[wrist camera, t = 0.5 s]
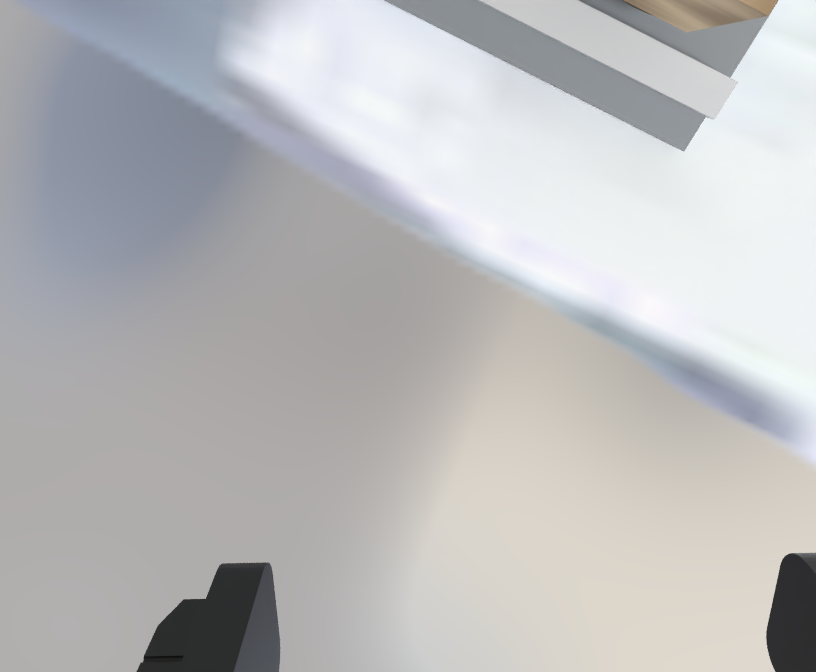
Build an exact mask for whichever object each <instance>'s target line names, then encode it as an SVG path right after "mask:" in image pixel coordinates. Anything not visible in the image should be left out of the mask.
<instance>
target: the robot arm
mask: <svg viewBox="0 0 816 672" xmlns="http://www.w3.org/2000/svg"><path fill="white" fill-rule="evenodd" d="M766 638H767V648H768V652H769V656H770V659H771V662H772V665H773V667H774V669H775V671H776V672H816V553H791V554H788V555H786V556H785V557H784V558H783V560H782V562H781V566H780V570H779V575H778V579H777V584H776V589H775V594H774V598H773V603H772V608H771V613H770V617H769V622H768V626H767V636H766ZM279 664H280V637H279V627H278V618H277V609H276V600H275V591H274V582H273V573H272V568H271V565H270V563H227V564H221V565H220V566H219V568H218V570H217V572H216V575H215V577H214V579H213V582H212V585H211V587H210V590H209V592H208V595H207V597H206V599H189V600H188V599H187V600H186V599H185V600H183V601H182V602H181V603H180V604H179V605H178V606H177V607H176V608H175V609H174V610H173V611H172V612H171V613H170V614H169V615H168V616H167V617H166V618H165V619H164V620H163V621H162V622H161V623H160V624H159V625H158V627H157V629H156V631H155V633H154V635H153V638H152V640H151V642H150V644H149V646H148V649H147V650H146V653H145V655H144V661H143V663H141V664H140V666H139V668H138V670H137V672H279Z"/></svg>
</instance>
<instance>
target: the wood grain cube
mask: <svg viewBox="0 0 816 672" xmlns="http://www.w3.org/2000/svg"><path fill="white" fill-rule="evenodd" d="M622 1H624V2H625V3H627V4H629V5H630V6H632V7H634V8H636V9H638V10H640V11H642V12H645V13H647V14H650V15H652V16H655V17H657V18H659V19H661V20H663V21H665V22H667V23H669V24H671V25H673V26H675V27H677V28H679V29H681V30H683V31H685V32H691V31H696V30H701V29H706V28H711V27H716V26H721V25H726V24H731V23H736V22H741V21H746V20H751V19H756V18H761V17H766V16H769V15H770V13H771V11H772V10H773V8H774V7H775V5H776V3H777V2H778V0H622Z"/></svg>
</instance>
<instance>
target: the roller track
mask: <svg viewBox="0 0 816 672" xmlns="http://www.w3.org/2000/svg"><path fill="white" fill-rule="evenodd" d="M385 1H387V2H389V3H391V4H393V5H395V6H397V7H399V8H401V9H403V10H405V11H407V12H409V13H411V14H413V15H415V16H417V17H419V18H421V19H423V20H425V21H427V22H429V23H431V24H433V25H435V26H437V27H439V28H441V29H442V30H444V31H446V32H448V33H450V34H452V35H454V36H456V37H458V38H460V39H462V40H464V41H466V42H468V43H470V44H472V45H474V46H476V47H478V48H480V49H482V50H484V51H486V52H488V53H490V54H492V55H494V56H496V57H498V58H500V59H502V60H504V61H506V62H508V63H510V64H512V65H514V66H516V67H518V68H520V69H522V70H524V71H526V72H528V73H530V74H532V75H534V76H536V77H538V78H539V79H541V80H543V81H545V82H547V83H549V84H551V85H553V86H555V87H557V88H559V89H561V90H563V91H565V92H567V93H569V94H571V95H573V96H575V97H577V98H579V99H581V100H583V101H585V102H587V103H589V104H591V105H593V106H595V107H597V108H599V109H601V110H603V111H605V112H607V113H609V114H611V115H613V116H615V117H617V118H619V119H621V120H623V121H625V122H627V123H629V124H631V125H633V126H635V127H637V128H638V129H640V130H642V131H644V132H646V133H648V134H650V135H652V136H654V137H656V138H658V139H660V140H662V141H664V142H666V143H668V144H670V145H672V146H674V147H676V148H678V149H680V150H682V151H685V149H686V148H687V146H688V144H689V143H690V141H691V140H692V138H693V136H694V135H695V133H696V132H697V130H698V128H699V127H700V125H701V124H702V122H703V120H704V119H705V117H707V118H711V119H715V118H716V116H717V115H718V113H719V112H720V110H721V108H722V107H723V105H724V104H725V102H726V100H727V99H728V97H729V96H730V94H731V93H732V91H733V89H734V88H735V86H736V85H737V83H738V82H737V81H735V80H733V79H731V78H730V77H731V76H732V74H733V72H734V71H735V69H736V68H737V66H738V64H739V63H740V61H741V60H742V58H743V56H744V55H745V53H746V52H747V50H748V48H749V47H750V45H751V44H752V42H753V40H754V39H755V37H756V36H757V34H758V32H759V31H760V29H761V28H762V26H763V24H764V23H765V21H766V20H767V18H768V16H766V17H761V18H756V19H751V20H746V21H741V22H736V23H731V24H726V25H721V26H716V27H711V28H706V29H701V30H696V31H691V32H685V31H683V30H681V29H679V28H677V27H675V26H673V25H671V24H669V23H667V22H665V21H663V20H661V19H659V18H657V17H655V16H652V15H650V14H647V13H645V12H642V11H640V10H638V9H636V8H634V7H632V6H630V5H629V4H627V3H625V2H624V1H622V0H385ZM776 4H777V3H776ZM771 12H772V11H771Z"/></svg>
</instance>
